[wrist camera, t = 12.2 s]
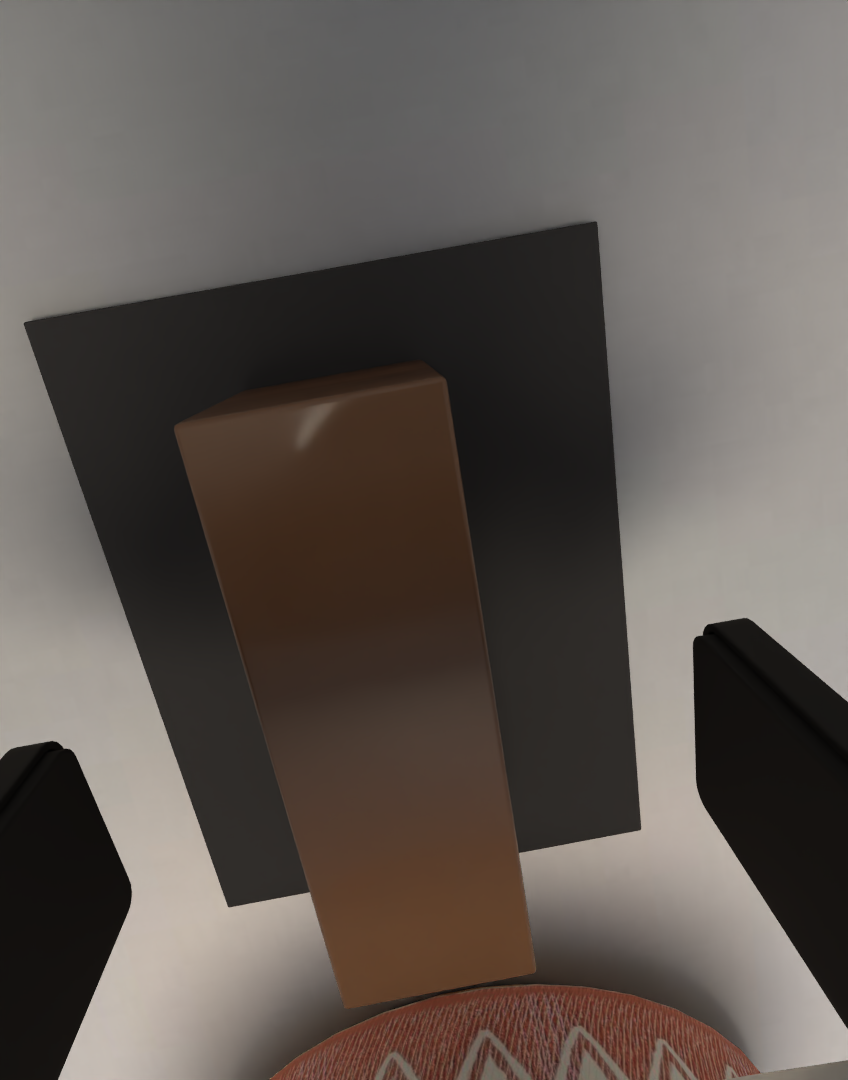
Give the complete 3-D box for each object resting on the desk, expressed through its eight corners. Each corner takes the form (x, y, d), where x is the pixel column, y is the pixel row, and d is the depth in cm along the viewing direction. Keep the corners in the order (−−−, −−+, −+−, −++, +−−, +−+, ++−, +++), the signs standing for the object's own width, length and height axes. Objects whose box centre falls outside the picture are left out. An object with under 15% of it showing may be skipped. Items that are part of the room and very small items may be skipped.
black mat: (29, 322, 13) (22, 322, 13) (593, 223, 14) (597, 220, 13) (230, 899, 19) (228, 907, 18) (637, 822, 19) (641, 830, 18)
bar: (240, 390, 14) (170, 424, 9) (423, 358, 14) (447, 375, 9) (352, 829, 18) (343, 1011, 13) (495, 802, 18) (537, 975, 13)
